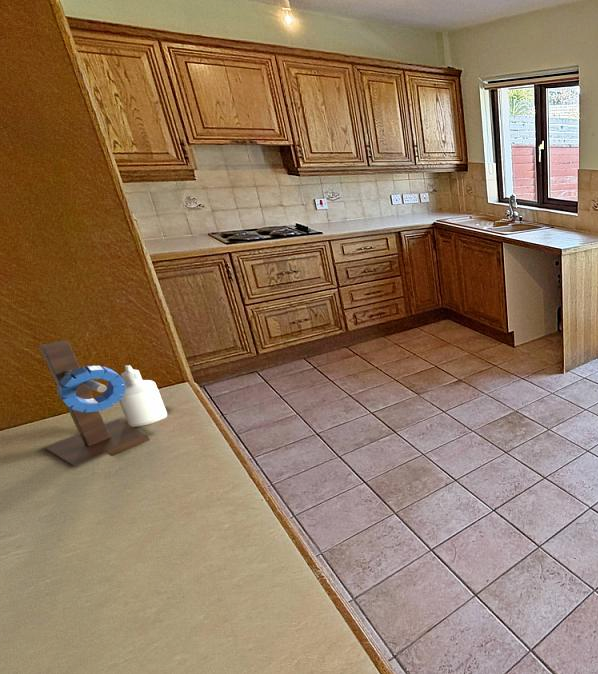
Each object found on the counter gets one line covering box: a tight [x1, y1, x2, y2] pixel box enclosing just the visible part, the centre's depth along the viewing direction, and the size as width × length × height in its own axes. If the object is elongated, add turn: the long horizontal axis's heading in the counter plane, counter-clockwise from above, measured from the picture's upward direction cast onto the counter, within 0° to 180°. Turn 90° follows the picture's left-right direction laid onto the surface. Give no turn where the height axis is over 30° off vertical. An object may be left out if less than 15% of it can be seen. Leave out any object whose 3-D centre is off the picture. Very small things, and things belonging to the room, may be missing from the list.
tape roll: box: [56, 365, 126, 413], centre depth 77 cm, size 2×7×7 cm
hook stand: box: [38, 339, 150, 467], centre depth 79 cm, size 16×10×20 cm, turn 66°
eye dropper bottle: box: [118, 364, 168, 428], centre depth 90 cm, size 4×6×12 cm
